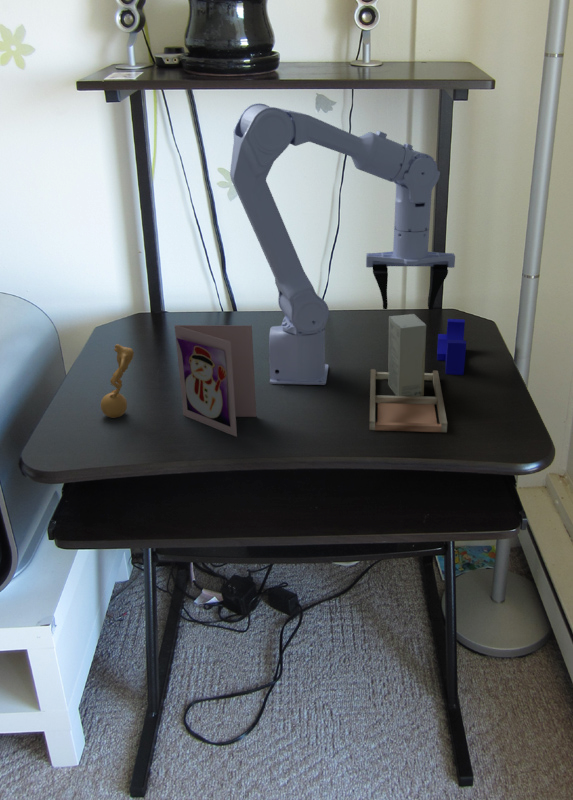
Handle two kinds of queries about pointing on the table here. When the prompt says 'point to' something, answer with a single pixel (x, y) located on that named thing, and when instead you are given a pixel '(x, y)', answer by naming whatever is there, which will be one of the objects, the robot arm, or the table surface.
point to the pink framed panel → (407, 408)
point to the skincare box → (406, 355)
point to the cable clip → (453, 347)
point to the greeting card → (216, 374)
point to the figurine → (117, 385)
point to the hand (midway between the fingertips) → (407, 307)
